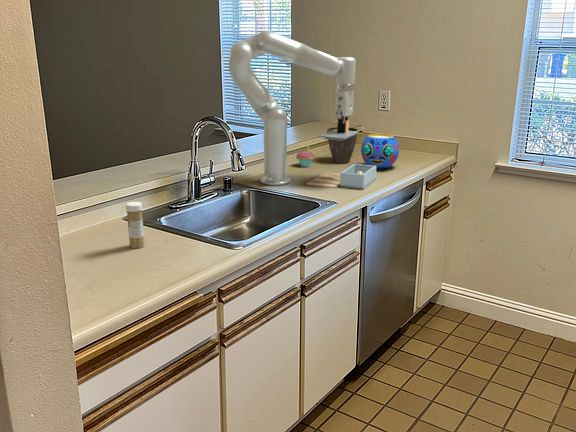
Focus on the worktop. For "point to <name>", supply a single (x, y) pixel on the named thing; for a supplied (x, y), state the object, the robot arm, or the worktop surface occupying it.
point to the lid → (339, 136)
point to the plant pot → (342, 147)
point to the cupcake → (305, 157)
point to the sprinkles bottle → (135, 224)
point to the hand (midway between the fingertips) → (342, 131)
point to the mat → (326, 180)
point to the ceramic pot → (380, 150)
